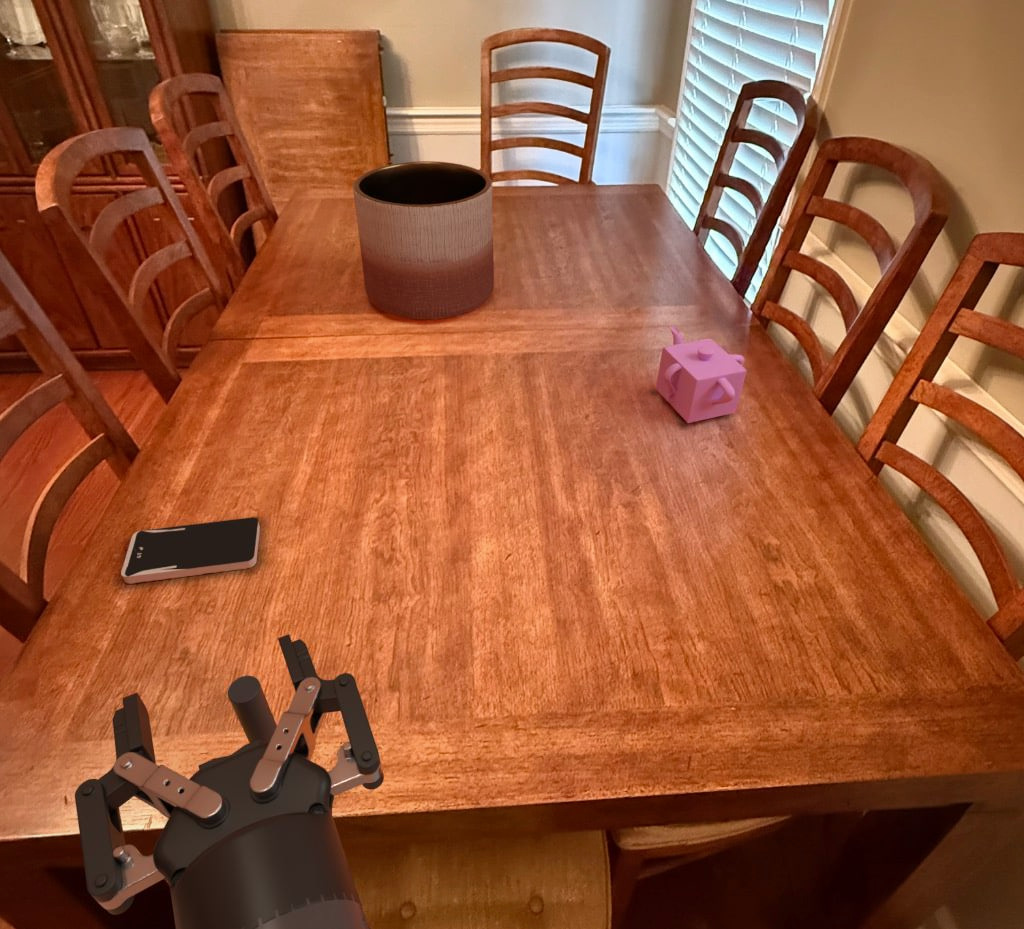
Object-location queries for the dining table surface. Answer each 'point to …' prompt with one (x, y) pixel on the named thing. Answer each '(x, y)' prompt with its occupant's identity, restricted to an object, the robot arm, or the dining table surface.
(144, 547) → the smartphone
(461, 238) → the planter
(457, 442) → the dining table surface
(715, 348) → the teapot
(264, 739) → the dark grey cylinder
